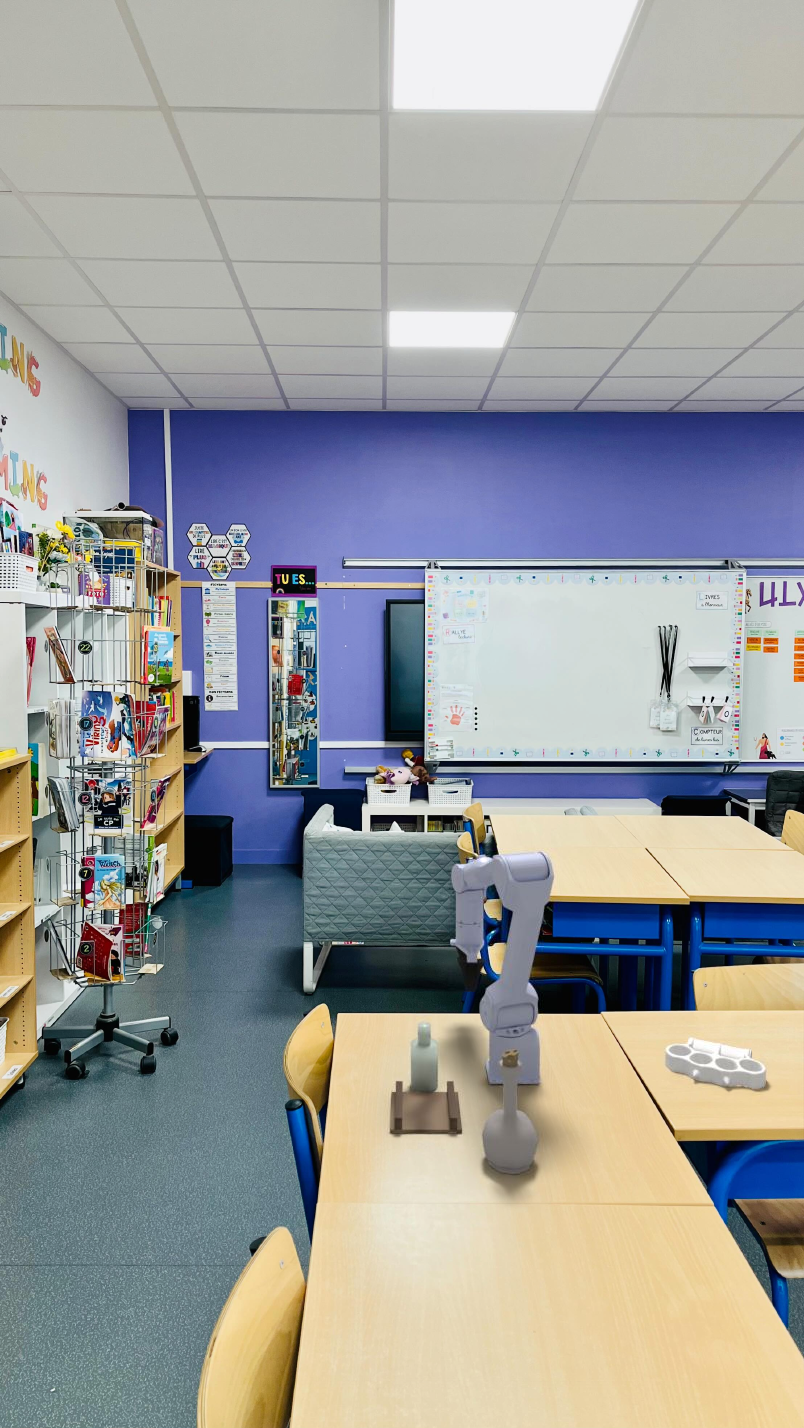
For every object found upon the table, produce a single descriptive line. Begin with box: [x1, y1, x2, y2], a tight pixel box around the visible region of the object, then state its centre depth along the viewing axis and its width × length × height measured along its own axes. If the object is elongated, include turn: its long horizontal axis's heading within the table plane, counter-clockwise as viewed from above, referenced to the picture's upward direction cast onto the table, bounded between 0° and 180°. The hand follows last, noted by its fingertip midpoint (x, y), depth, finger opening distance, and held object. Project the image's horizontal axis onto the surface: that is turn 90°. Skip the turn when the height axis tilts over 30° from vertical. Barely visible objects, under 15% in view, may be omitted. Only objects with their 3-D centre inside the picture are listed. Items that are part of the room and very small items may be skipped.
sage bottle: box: [410, 1021, 439, 1092], centre depth 154 cm, size 5×5×12 cm
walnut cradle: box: [389, 1080, 463, 1134], centre depth 145 cm, size 12×12×3 cm
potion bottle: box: [481, 1049, 539, 1175], centre depth 131 cm, size 9×9×18 cm
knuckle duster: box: [664, 1036, 767, 1090], centre depth 160 cm, size 3×18×15 cm
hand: (469, 983), depth 175 cm, fingers open, 7 cm apart
